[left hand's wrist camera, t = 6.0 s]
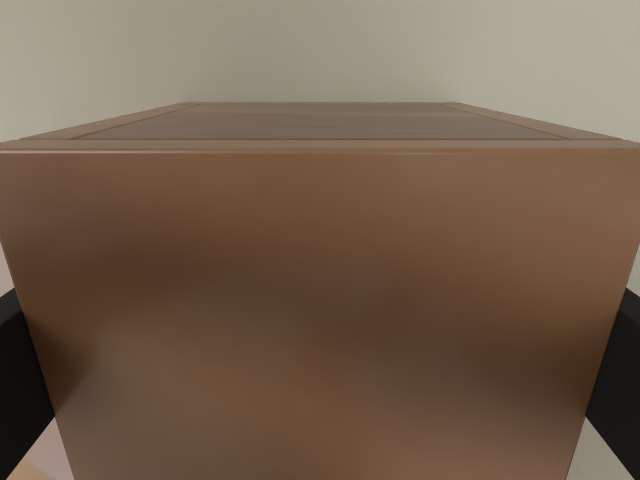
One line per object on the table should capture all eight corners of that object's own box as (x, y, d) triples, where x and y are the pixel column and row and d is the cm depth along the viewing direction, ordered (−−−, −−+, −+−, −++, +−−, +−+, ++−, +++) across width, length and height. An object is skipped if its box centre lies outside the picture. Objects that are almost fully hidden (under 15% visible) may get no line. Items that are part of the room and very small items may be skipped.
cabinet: (414, 478, 25) (480, 758, 15) (225, 478, 25) (159, 758, 15) (459, 102, 17) (671, 149, 7) (180, 102, 17) (-32, 148, 7)
